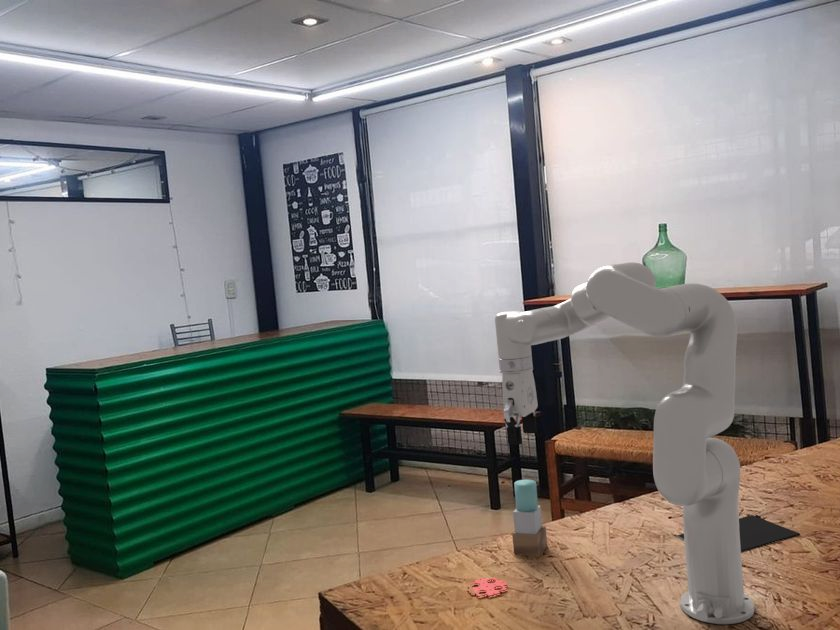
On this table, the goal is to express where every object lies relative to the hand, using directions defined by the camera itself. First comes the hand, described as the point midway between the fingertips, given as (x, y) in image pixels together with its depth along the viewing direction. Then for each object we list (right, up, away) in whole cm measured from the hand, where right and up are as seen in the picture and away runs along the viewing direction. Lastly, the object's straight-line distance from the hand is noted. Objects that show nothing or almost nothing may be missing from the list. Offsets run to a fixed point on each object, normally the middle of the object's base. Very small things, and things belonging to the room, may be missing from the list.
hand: (522, 438), depth 165 cm
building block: (-10, -29, -15) cm, 34 cm away
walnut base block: (+2, -26, +2) cm, 27 cm away
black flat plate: (+48, -23, -1) cm, 53 cm away
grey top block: (+2, -21, +1) cm, 22 cm away
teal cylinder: (+1, -16, +1) cm, 16 cm away
